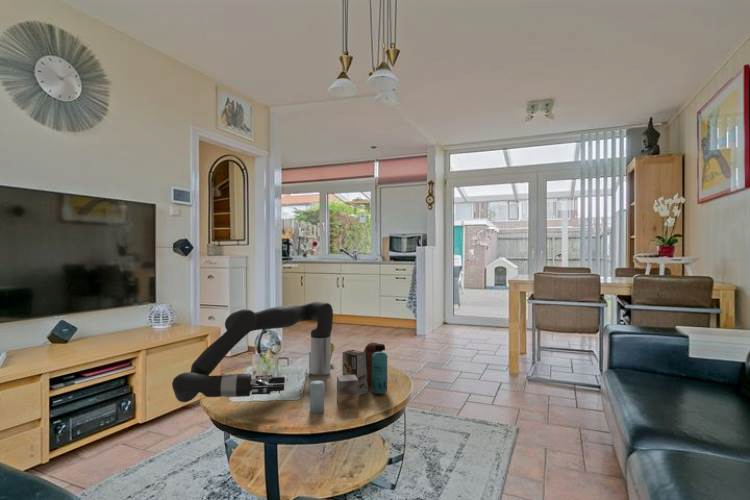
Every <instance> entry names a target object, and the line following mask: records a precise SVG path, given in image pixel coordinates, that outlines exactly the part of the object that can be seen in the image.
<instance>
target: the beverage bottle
mask: <svg viewBox="0 0 750 500" xmlns="http://www.w3.org/2000/svg"><path fill="white" fill-rule="evenodd" d="M375 350H377V351H382V352H375V353H374V354H373V355H372V373H371V374H372V376H371V377H372V379H371V386H370V387H371V392H372V393H375V394H384V393H386V392H387V391H388V387H389V386H388V371H389V370H388V356H389V355H388V354H387V353H385V352H383V351H385V350H386V346H385V344H383V343H378V344H376V345H375Z"/></svg>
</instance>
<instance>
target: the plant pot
mask: <svg viewBox="0 0 750 500" xmlns="http://www.w3.org/2000/svg"><path fill="white" fill-rule="evenodd" d="M334 351H335V343H332V342H331V349H330V362H331V361H332V356H333V353H334Z"/></svg>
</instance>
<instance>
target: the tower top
mask: <svg viewBox="0 0 750 500" xmlns="http://www.w3.org/2000/svg"><path fill="white" fill-rule="evenodd" d="M337 390H338V393H339V395H348V394H358V379H357V377H356V375H337V376H336V391H337Z"/></svg>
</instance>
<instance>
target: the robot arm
mask: <svg viewBox="0 0 750 500" xmlns="http://www.w3.org/2000/svg"><path fill="white" fill-rule="evenodd" d="M333 318H334V310H333V306H332V305H331V303H330V302H329V303H328V302H324V301H323V302H322V301H313V302H309V303H305V304H300V305H281V306H280V305H279V306H275V307H274V306H273V307H270V308H267V309H263V310H259V311H256V312H254V311H253V310H251V309H249V308H248V309H247V308H245V309H244V308H243V309H240V310H237V311H234V312H232V313H230V315H228V317H226V319H225V322H224V328H225V332H224V333H223V334H221V336H220V337H219V338H217V339H216V340H215V341H214V342H212V343H211V344H210V345H209V346H207V347H206V348H205V349H204V350H203V351H202V352H201V353H200V355H199V356H198V357H197V358H196V359H195V360H194V361H193V362H192V365H191V366H190V372H183V373H180V374H178V375H176V376H175V377H174V378H173V379H172V384H171V386H172V390H173V393H174V397H175V399H177V401H178V402H180V403H189V402H190V401H192V400H193V399H195V398H196V397H197V396H198V394H202V395H203V396H205V397H207V398H222V397H223V398H241V397H243V398H244V397H249V396H251V395H270V394H271V393H272V392H283V391H284V390H285V382H286V380H285V379H286V377H285V376H273V374H266V375H265V374H263V375H262V374H261V375H255V377H254V378H252V374H251V373H228V374H224V375H223V374H222V375H211V373H212V372H213V371H214V370H215V369H216V368H217V366H219V364H220V363H221V362H222V361H223V359H224V358H225V357H226V356H227V355H228V354H229V352H230V351H231V350H233V348H234V347H236V345H237V344H238V343H239V342H240V341H241V340H242V339H243V338H245V337H246V336H247V335H248V334H249V333H250V332H253V331H259V330H260V331H261V330H274V329H283V328H289V327H292V326H295V325H296V324H298V323H299V322H304V321H309V322H310V321H311V322H312V321H313V322H317V325H316V327H315V328H314V329H311V330H310V351H309V353H308V373H309V374H310V375H312V376H317V377H318V376H326V375H330V374H331V361H330V349H331V343H332V342H331V338H332V337H331V334H332V330H333V322H334V320H333Z"/></svg>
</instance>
